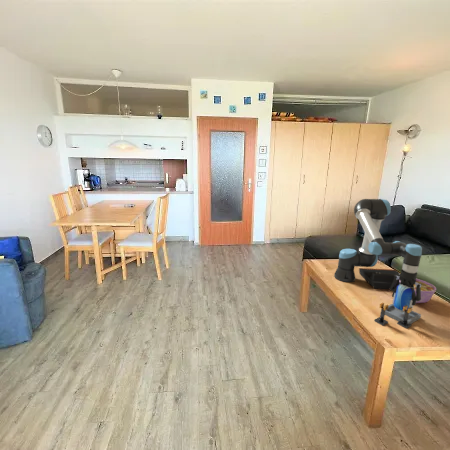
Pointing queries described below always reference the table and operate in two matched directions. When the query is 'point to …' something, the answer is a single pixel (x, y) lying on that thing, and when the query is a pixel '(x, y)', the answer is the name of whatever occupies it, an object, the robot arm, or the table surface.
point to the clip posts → (403, 324)
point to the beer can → (402, 297)
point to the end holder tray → (401, 315)
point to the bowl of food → (425, 290)
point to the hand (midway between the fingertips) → (402, 305)
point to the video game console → (380, 277)
